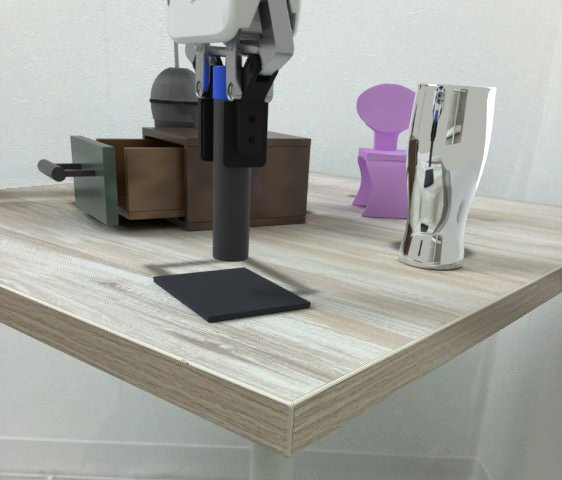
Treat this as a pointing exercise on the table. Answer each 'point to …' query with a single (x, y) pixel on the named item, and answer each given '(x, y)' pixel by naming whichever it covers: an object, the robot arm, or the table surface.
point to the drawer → (124, 177)
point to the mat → (229, 293)
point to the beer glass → (444, 170)
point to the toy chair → (384, 151)
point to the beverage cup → (174, 97)
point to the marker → (228, 191)
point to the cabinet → (264, 180)
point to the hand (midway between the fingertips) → (231, 161)
